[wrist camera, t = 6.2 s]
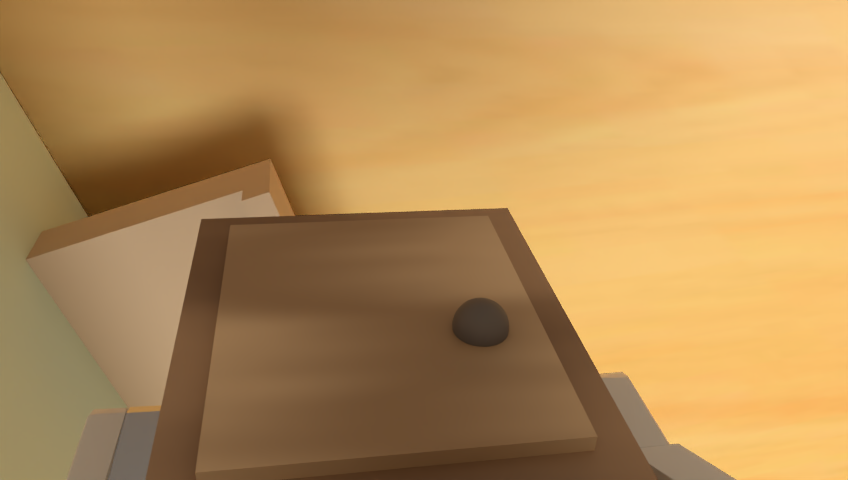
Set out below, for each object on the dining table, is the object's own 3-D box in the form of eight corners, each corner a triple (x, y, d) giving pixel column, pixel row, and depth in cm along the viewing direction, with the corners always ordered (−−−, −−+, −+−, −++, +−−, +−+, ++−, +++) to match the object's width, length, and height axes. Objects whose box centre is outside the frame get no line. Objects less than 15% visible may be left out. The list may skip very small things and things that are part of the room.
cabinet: (229, 446, 14) (195, 812, 9) (197, 184, 11) (119, 500, 6) (482, 425, 15) (584, 749, 10) (511, 175, 12) (678, 448, 7)
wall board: (-98, 14, 26) (-633, 298, 11) (191, -78, 26) (61, 78, 11) (202, 471, 40) (152, 879, 25) (391, 410, 40) (457, 780, 25)
